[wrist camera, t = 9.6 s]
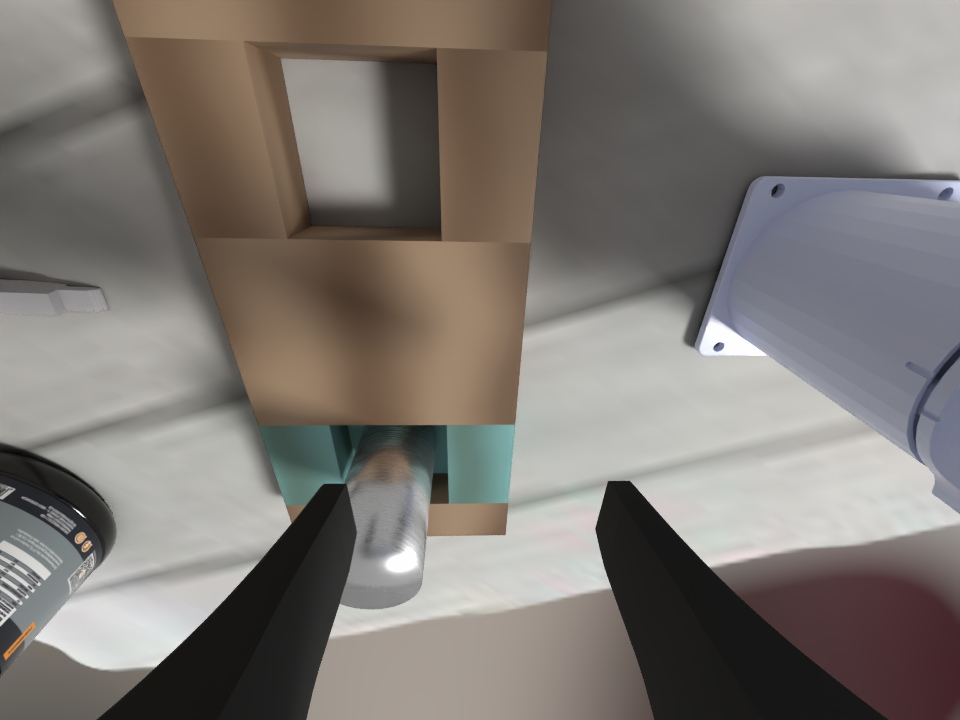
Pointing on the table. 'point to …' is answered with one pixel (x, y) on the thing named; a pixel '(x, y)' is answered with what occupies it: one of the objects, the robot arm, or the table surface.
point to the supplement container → (44, 546)
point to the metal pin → (389, 514)
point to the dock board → (360, 232)
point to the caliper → (47, 298)
